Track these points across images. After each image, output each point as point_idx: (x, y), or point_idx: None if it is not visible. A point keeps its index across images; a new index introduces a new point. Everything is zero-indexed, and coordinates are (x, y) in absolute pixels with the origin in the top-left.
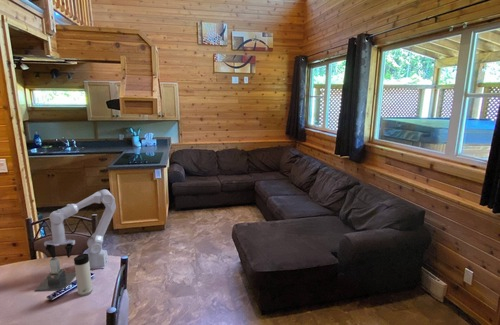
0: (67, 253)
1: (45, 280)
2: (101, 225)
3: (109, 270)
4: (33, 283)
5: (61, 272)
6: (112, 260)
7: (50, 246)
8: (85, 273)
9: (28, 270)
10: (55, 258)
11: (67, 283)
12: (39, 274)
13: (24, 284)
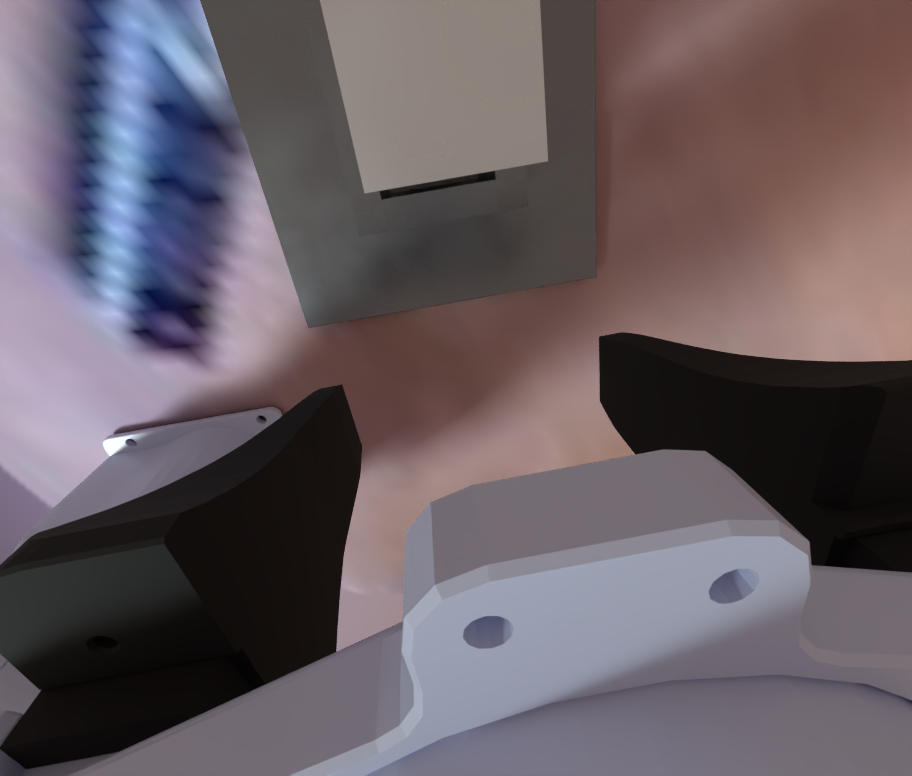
0: (291, 422)
1: (572, 129)
2: None
3: (13, 410)
4: (692, 85)
5: (337, 131)
6: None
7: (878, 512)
8: None
9: (839, 330)
10: (422, 113)
11: (240, 73)
12: (705, 273)
13: (789, 54)
